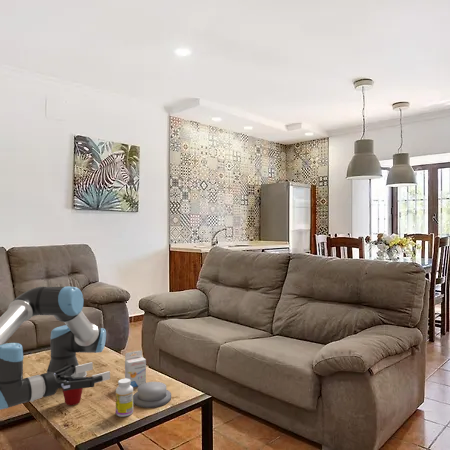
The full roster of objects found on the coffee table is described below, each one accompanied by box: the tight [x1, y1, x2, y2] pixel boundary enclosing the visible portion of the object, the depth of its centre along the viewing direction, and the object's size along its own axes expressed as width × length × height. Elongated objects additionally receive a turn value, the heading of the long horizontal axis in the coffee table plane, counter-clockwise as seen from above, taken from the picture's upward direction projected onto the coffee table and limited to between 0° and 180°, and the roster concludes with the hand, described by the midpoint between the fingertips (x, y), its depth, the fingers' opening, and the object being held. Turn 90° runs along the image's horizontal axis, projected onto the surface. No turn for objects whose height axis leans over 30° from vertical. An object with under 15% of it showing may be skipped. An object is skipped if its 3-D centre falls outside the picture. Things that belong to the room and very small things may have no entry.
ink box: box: [124, 350, 147, 388], centre depth 183 cm, size 8×5×15 cm, turn 123°
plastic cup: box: [61, 371, 88, 406], centre depth 165 cm, size 11×11×12 cm
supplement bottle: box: [115, 377, 134, 418], centre depth 156 cm, size 7×7×13 cm
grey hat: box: [133, 381, 172, 409], centre depth 168 cm, size 16×16×5 cm
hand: (100, 370), depth 148 cm, fingers open, 13 cm apart
